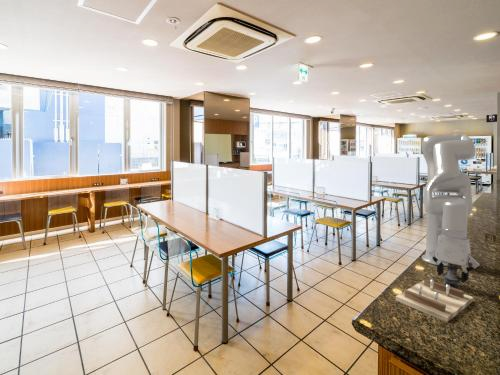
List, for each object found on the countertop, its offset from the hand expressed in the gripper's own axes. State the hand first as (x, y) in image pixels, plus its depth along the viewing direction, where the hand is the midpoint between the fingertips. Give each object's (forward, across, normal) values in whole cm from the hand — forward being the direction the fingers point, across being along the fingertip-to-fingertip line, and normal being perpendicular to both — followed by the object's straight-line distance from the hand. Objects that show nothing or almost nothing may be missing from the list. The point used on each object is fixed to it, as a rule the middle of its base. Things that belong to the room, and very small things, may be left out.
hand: (451, 277), depth 105 cm
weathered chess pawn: (+4, 0, 0) cm, 4 cm away
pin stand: (+3, +1, -17) cm, 17 cm away
